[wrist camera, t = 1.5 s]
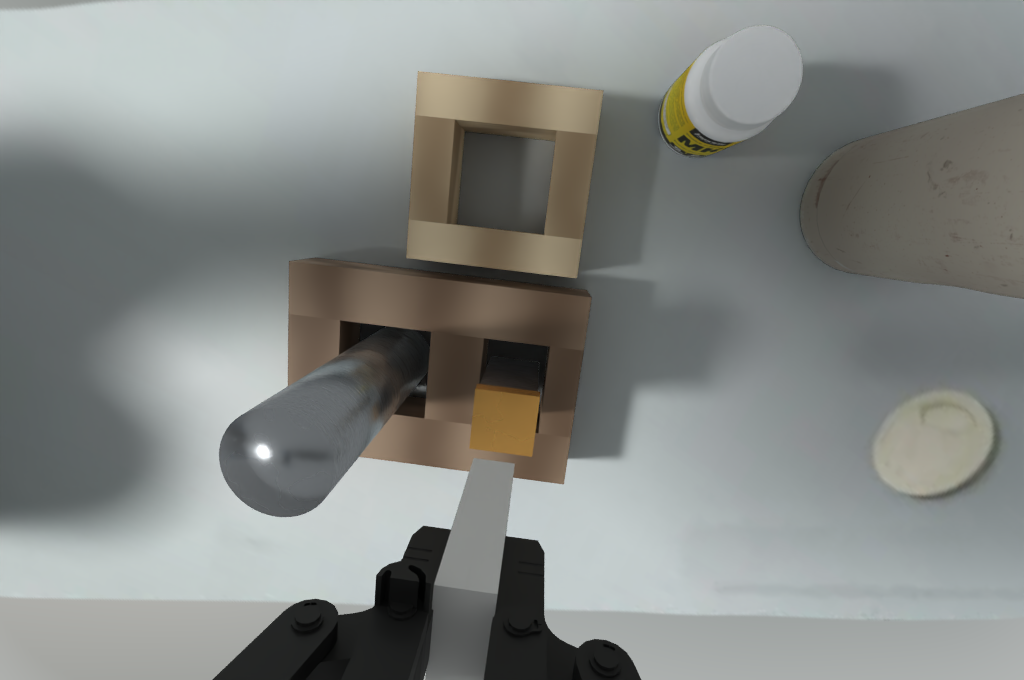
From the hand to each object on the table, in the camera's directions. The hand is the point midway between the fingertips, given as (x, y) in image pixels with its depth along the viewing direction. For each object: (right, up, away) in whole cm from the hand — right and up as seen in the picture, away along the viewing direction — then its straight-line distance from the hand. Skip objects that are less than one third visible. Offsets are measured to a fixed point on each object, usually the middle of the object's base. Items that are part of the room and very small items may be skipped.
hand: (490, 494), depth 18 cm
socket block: (-4, +4, +16) cm, 17 cm away
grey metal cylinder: (-7, +5, +16) cm, 18 cm away
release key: (+1, +3, +13) cm, 14 cm away
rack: (0, +15, +13) cm, 20 cm away
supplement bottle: (+12, +19, +12) cm, 25 cm away
